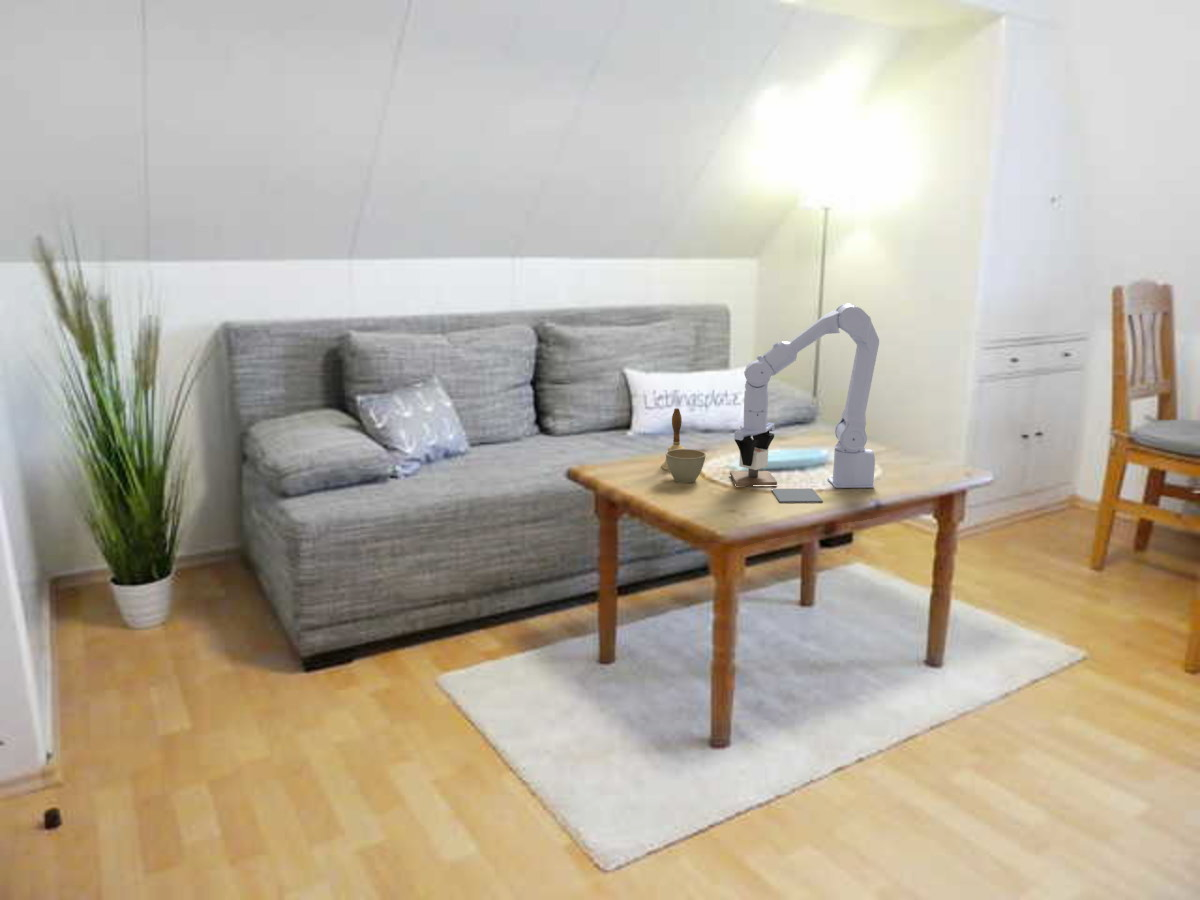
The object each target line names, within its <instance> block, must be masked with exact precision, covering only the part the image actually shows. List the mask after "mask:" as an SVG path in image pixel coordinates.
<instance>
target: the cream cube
mask: <svg viewBox="0 0 1200 900" xmlns="http://www.w3.org/2000/svg"><path fill="white" fill-rule="evenodd" d="M768 465H769V449H768V450H766V449H761V448H756V447H755V449H754V453H753V461H752V465H751V466H746V465H743V462H742V457H741V453H740V452H739V467H741V468H746V469H748V470H749V469H754V470H758V471H759V470H760V469H764V468H766V467H768Z"/></svg>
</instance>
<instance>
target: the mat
mask: <svg viewBox="0 0 1200 900" xmlns="http://www.w3.org/2000/svg"><path fill="white" fill-rule="evenodd" d="M772 489H773V490H772V491H773V492H772V491H771V492H772V494H773V493H774V494H773V495H774V497H775V496H776V497H775V498H776V500H777V502H778V503H781V504H783V503H785V504H791V503H792V504H793V503H794V504H795V503H796V504H797V503H798V504H800V503H803V504H805V503H809V504H810V503H811V504H813V503H823V502H824V500H823V499H822V498H821V497H820V495H818V493H817V492H816V491H815V490H814V488H813V487H812V488H809V487H808V488H772Z"/></svg>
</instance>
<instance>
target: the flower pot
mask: <svg viewBox="0 0 1200 900" xmlns="http://www.w3.org/2000/svg"><path fill="white" fill-rule="evenodd" d="M706 456H707V454H706V453H705V452H704V451H702V450H697V449H693V448H692V449H691V448H685V449H676V450H670V451H668V450H667V451H666V452H665V460H667V464H668V467H669V470H670V471H669V472H670V474H671V477H672V478H673V479H674V480H673V481H675V482H676V483H680V484H692V483H695V482H696V480H698V478H699V475H700V474H701V472H702V469H703V467H704V465H705V460H706Z"/></svg>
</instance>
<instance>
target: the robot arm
mask: <svg viewBox="0 0 1200 900" xmlns="http://www.w3.org/2000/svg"><path fill="white" fill-rule="evenodd" d="M840 330H842V331H843V332H845V333H846V334H847V335H849V337H850V339H852V341H853V342H854V343H855V344H856V349H855V356H854V360H853V364H852V370H851V375H850V381H849V386H848V392H847V395H846V400H845V401H846V402H845V406H844V407H845V408H844V410H843V411H842V412H841V413H842V414H841V418H840V420H839V421H838V423H837V424H836V426H835V430H834V434H835V437H836V439H837V440H838V441H837V443H836V444H835V445H834V454H833V455H834V456H833V469H832V470H833V471H832V477H831V476H829V477H827V480H828V482H830V483H831V484H832V486H834V488H837V489H838V488H840V489H849V488H851V489H852V488H853V489H854V488H857V489H858V488H859V489H861V488H863V489H864V488H867V489H868V488H869V489H870V488H872V489H873V488H875V485H874V481H875V480H874V478H875V469H876V468H875V467H876V457H875V453H874V450H873V449H871V448H870V449H868V448H866V447H865V446H866V443H867V440H868V437H867V432H866V425H867V421H866V420H867V418H866V416H867V415H866V412H867V406H868V402H869V397H870V391H871V387H872V381H873V377H874V371H875V365H876V361H877V356H878V353H879V347H880V346H879V345H880V338H879V336H878V333H877V332H876V328H875V327H874V325H873V322H872V318H871V317H870V316H869V314H868V313H867V312H865V310H864V309H863V308H861V307H860V306H856V305H855V304H853V303H843V304H840V305H839V306H838V307H837V308H836V309H833V310H831V311H829V312H827V313H826V314H825V315H823V316H822V317H820V318H819V319H818V320H816V321H815V322H814V323H812V324H811V325H809V327H807V328H805V330H803V331H802V332H801V333H800V334H798V335H797V336H796V337H795V338H793V339H792V340H790V341H784V340H782V341H780V342H774V343H773V344H772V348H771V349H769V350H768V351H766V352H765V353H764V354H762V355H758V356H756V359H757V360H753V361H751V362H749V363H748V364H747V365H746V367H745V370H744V372H743V373H744V376H745V379H746V381H745V384H744V388H745V390H744V398H743V399H744V403H743V405H744V406H743V424H742V425H741V424H740V426H739V429H738V430H736V431H734V434H733V436H734V437H733V438H734V442H735V443H736V445H737V447H738V450H739V454H740V453H741V457H742V462H743V465H746V466H751V465H752V461H753V453H754V449H755V447H756V448H761V449H766V450H768V451H769V447H770V445H771V443H772V442H773V440H774V439H775V433H774V432H775V428H776V427H775V425H776V423H773V422H768V407H769V406H768V405H769V391H768V384H769V381H770V379H771V376H776V375H778V374H779V373H780V372H781V371H783V370H784V369H786V368H787V367H789V366H790V365H791V364H793V363H794V362H796V361H797V356H798V353H799V352H801V351H803V350H804V349H805V348H807V347H809V346H810V345H812V344H813V343H814V342H816V341H818V340H819V339H820V338H822V337H823V336H825V335H831V334H840V332H841V331H840ZM771 432H773V433H771Z"/></svg>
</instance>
